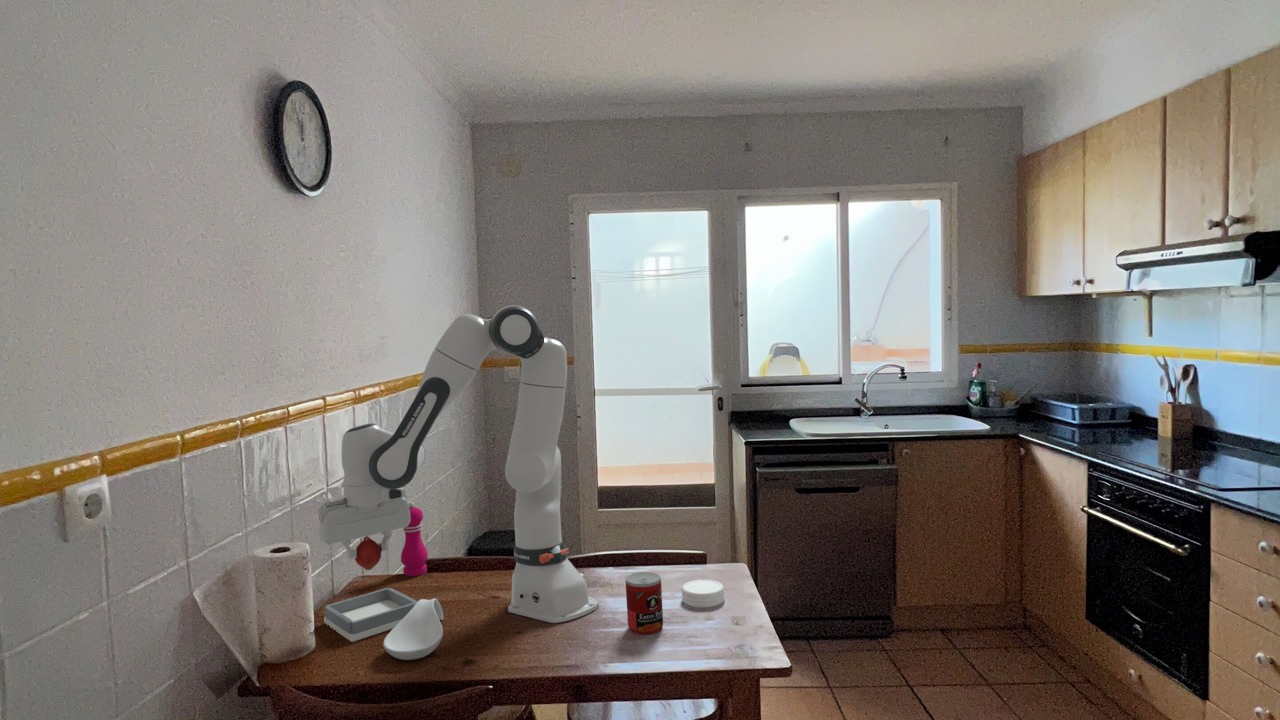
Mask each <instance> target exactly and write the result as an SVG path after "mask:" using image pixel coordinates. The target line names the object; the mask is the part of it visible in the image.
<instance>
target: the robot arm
mask: <svg viewBox="0 0 1280 720" xmlns="http://www.w3.org/2000/svg"><path fill="white" fill-rule="evenodd" d="M498 349H499V350H501V351H504V352H507V353H510V354H512V355H515V356H517V357H519V359H520V363H521V371H520V378H519V379H520V381H519V389H518V398H517V406H516V407H517V408H516V415H515V420H514V424H513V428H512V432H511V437H510V442H509V447H508V452H507V459H506V462H505V467H504V476H505V480H506V482H507V483H508V485H509V486H510V487H511V488H512V489H513V490H516V493H515V504H514V512H513V517H514V536H515V544H514V546H513V555H514V561H515V568H514V570H513V573H512V575H511V576H512V577H511V603H510V604H509V605H508V606H507V611H508V613H511V614H515V615H519V616H522V617H523V616H524V617H527V618H532V619H535V620H539V621H542V622H547V623H551V624H558V623H563V622H567V621H571V620H574V619H578V618H580V617H583V616H586V615H588V614H590V613H592V612H593V611H595V610H597V609H598V608H599V606H600V602H599V601H598V600H596V598H593V597H591V596H590V595H589V591H588V585H587V584H588V583H587V582H586V579H585V575H584V573H581V572H579V571H578V570H577V569H576V567H575V566H574V565H573V563H572V562H571V561H570V560H569V559H568V554H569V553H570V551H569V550H570V549H569V547H566V545H565V542H564V541H563V539H562V526H561V525H562V524H561V523H562V522H561V497H562V496H561V494H562V493H561V491H562V455H561V451H560V448H559V446H558V442H559V441H558V440H559V435H560V431H561V428H562V427H561V426H562V422H563V418H564V409H565V400H566V390H567V380H568V360H567V359H568V358H567V350H566V347H565V345H564V344H563V343H561V342H560V341H558V340H557V339H555V338H550V337H545V336H544V334H543V331H542V329H541V327H540V324H539V322H538V319H537V318H536V316H535V315H534V314H533V313H532V312H531V311H530V310H528V309H527V308H525V307H523V306H521V305H508V306H504V307H502V308H500V309H499V310H498V311H497V312H496V313H494V314H493V315H491V316H489V317H488V318H482V317H480V316H478V315H475V314H471V313H464V314H461V315H459V316H457V317H456V318H455V319H454V320H453V321H452V322H451V324H450V325H449V327H448V328H446V330H445V331H444V333H443V335H442V336H441V337H440V339H439V340H438V342H437V344H436V346H435V348H434V349H433V350H432V353H431V355H430V357H429V359H428V362H427V363H426V366H425V369H424V371H423V374H422V378H421V380H420V383H419V386H418V389H417V391H416V394H415V397H414V398H413V401H412V403H411V404H410V406H409V408H408V410H407V411H406V412H405V414H404V416H403V418H402V420H401V421H400V423H399V425H398V427H397V428H396V430H395V432H392V431H389V430H387V429H385V428H382V427H381V426H380V425H378V424H376V423H366V424H363V425H362V424H361V425H358V426H354V427H351V428H350V429H348V430H347V431H345V432H344V434H343V436H342V440H341V466H342V469H343V474H344V475H343V476H344V477H343V481H342V487H343V498H341V499H337V500H333V501H326V502H325V503H324V504H322V505H321V506H320V507H319V509H318V519H319V522H320V523H319V540H320V541H321V542H322V543H324V544H325V545H333V544H337V543H341V545H342V547H344V549H345V551H346V552H347V553H346V554H347V559H348V560H353V559H355V558H357V555H356V554H357V550H356V548H352V547H351V546H350V545H352V540H355V539H359V538H364V537H365V536H368V537H369V536H372V535H376V534H382V535H383V537H382V539H381V542H378V543H377V544H378V545H379V546H380V549H381V552H384V551H388V543H389V541H390V539H391V537H392V531H394V530H399V529H402V528H403V527H407V526H408V525H409V523H410V510H409V505H408V503H409V502H408V500H407V499H406V498H405V497H406V493H407V492H406V489H405V488H403V487H405V486H407V485H408V484H409V483H410V482H411V481H412V480H413V479H414V477H415V475H416V474H417V472H419V471H420V468H422V466H423V464H424V463H425V459H426V451H425V447H424V445H423V443H424V441H425V440H426V438H427V436H428V434H429V433H430V431H431V429H432V428H433V426H434V424H435V422H436V420H437V419H438V417H439V416H440V414H441V413H442V412H443V411H444V410H445V409H446V407H448V406H449V405H450V404H451V403H452V402H453V401H455V399H457V398H458V397H460V396H461V395H462V394H463V392H464V391H465V390H466V388H468V386H469V385H470V384H471V382H472V381H473V380H474V378H475V377H476V375H477V374H478V373H477V372H478V371H479V369H480V367H481V365H482V363H483V361H484V360H485V359H486V357H487V356H488V355H489V354H490V352H492V351H493V350H498ZM403 529H404V528H403Z"/></svg>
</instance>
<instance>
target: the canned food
mask: <svg viewBox="0 0 1280 720" xmlns="http://www.w3.org/2000/svg"><path fill="white" fill-rule="evenodd" d="M662 592H663V591H662V579H661V575H659V573H656V572H651V571H638V572H634V573H631V574H629V575H627V576H626V577H625V595H626V614H627V615H626V616H627V626H628V629H629V631H630V632H631V633H632V634H633V633H634V634H635V635H641V636H646V635H653V634H654V635H655V634H657V633H658V632H661V631H662V629H663V626H664V615H663V613H664V611H663V593H662Z"/></svg>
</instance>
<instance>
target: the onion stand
mask: <svg viewBox="0 0 1280 720" xmlns="http://www.w3.org/2000/svg"><path fill="white" fill-rule="evenodd" d="M418 601H419V600H416V599H414V598H412V597H410V596H408V595H407V594H405V593H402V592H401V591H398V590H396V589H394V588H392V587H390V588H389V587H385V588H382V589H378V590H375V591H372V592H368V593H364V594H360V595H358V596H354V597H351V598H347V599H343V600H340V601H337V602H333V603H331V604H326V605H325V606H324V611H325V612H324V613H325V616H324V617H323V621H324V624H325V623H326V624H327V626H328V625H329V626H330V627H329V626H328V627H329V628H331V629H332V628H333V629H332V630H333V631H335V630H336V631H335V632H336V633H338V634H339V635H341V636H342V637H343V638H345V639H347V640H348V641H350V642H351V643H353V642H357V641H359V640H363V639H366V638H369V637H371V636H374V635H378V634H380V633H384V632H387V631H391V630H392V629H393V628H394V627H395V626H396V625H397V624H398V623H399V622H400V621H401V620H402V619H403V618H404V617H405V616H406V615H407V614H408V613H409V611H410V610H411V609H412V608H413V607H414V606H415V604H416V603H417V602H418ZM326 624H325V625H326Z"/></svg>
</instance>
